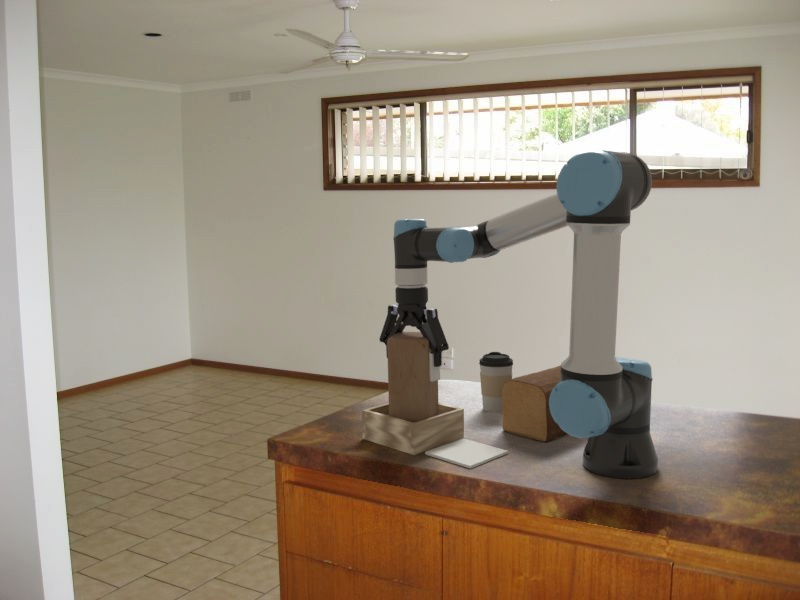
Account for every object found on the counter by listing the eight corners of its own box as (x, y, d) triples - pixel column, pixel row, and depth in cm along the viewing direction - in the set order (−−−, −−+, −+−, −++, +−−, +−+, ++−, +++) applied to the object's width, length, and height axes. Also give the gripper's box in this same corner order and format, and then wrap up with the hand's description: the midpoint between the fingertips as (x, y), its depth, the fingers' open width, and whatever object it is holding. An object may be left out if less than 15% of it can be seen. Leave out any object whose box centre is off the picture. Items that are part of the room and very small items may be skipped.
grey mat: (508, 453, 168) (508, 450, 168) (470, 468, 159) (470, 465, 159) (463, 440, 178) (463, 438, 177) (425, 454, 168) (425, 451, 168)
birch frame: (463, 437, 180) (463, 408, 179) (414, 455, 168) (413, 424, 167) (412, 423, 192) (412, 396, 191) (362, 438, 180) (362, 410, 179)
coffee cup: (515, 413, 199) (515, 357, 197) (480, 413, 199) (480, 358, 197) (510, 404, 208) (510, 350, 206) (477, 404, 208) (477, 351, 206)
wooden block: (430, 425, 173) (428, 338, 170) (388, 423, 175) (385, 337, 173) (439, 413, 182) (437, 331, 180) (399, 411, 185) (397, 330, 183)
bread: (623, 414, 198) (625, 360, 196) (546, 444, 175) (547, 384, 173) (577, 404, 208) (578, 353, 206) (499, 431, 185) (499, 374, 183)
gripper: (463, 287, 169) (464, 380, 172) (385, 281, 187) (388, 366, 189) (440, 290, 164) (442, 387, 166) (363, 284, 181) (366, 371, 184)
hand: (413, 376), depth 178 cm, fingers closed on wooden block, 13 cm apart
